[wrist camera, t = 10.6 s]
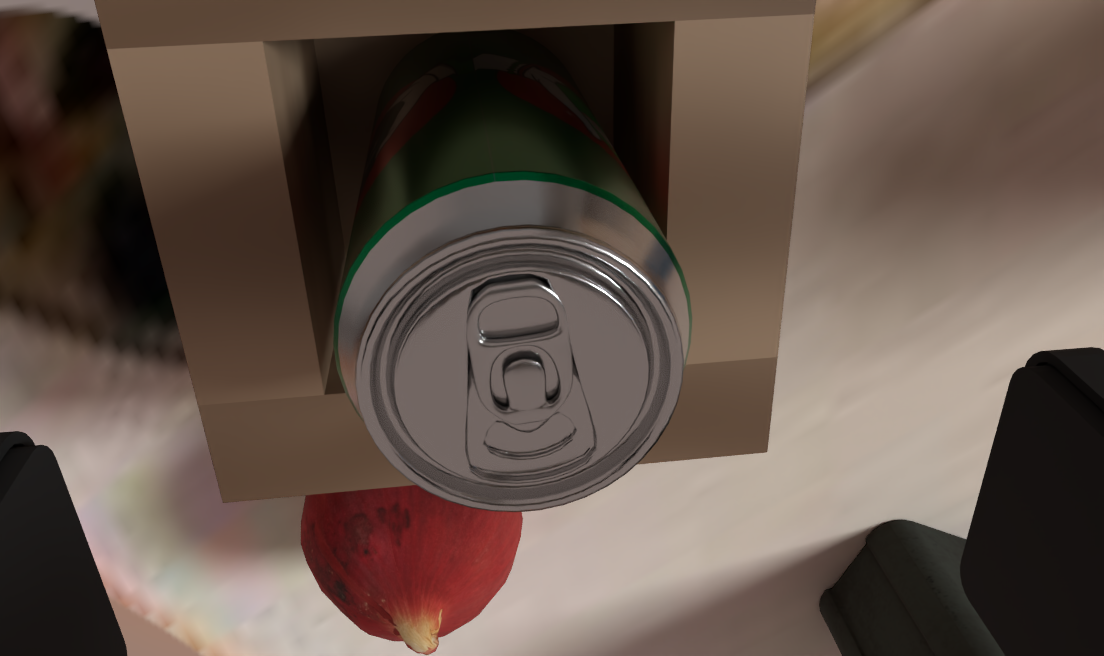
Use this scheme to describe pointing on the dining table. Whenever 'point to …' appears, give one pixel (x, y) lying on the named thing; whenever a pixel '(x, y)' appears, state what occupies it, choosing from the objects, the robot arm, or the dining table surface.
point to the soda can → (505, 284)
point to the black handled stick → (906, 598)
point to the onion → (407, 559)
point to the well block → (337, 170)
